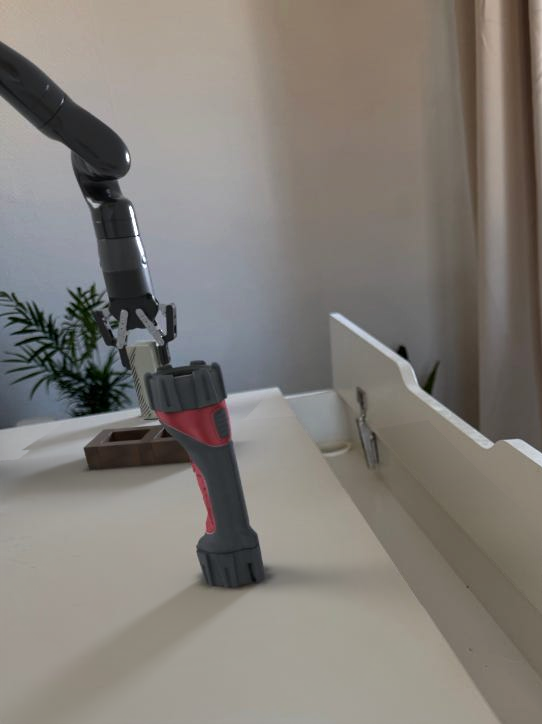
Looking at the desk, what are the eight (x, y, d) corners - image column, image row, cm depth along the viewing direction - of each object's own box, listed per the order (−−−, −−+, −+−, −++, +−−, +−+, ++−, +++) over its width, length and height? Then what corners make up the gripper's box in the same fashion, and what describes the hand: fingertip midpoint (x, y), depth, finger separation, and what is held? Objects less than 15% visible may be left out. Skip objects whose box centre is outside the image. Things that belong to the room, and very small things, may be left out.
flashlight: (186, 575, 108) (139, 365, 98) (256, 561, 110) (217, 354, 100) (194, 601, 102) (144, 380, 91) (269, 586, 104) (228, 368, 93)
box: (151, 412, 178) (134, 340, 172) (175, 411, 177) (159, 338, 171) (141, 420, 173) (124, 346, 167) (165, 419, 173) (149, 344, 167)
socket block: (89, 473, 146) (83, 447, 144) (109, 454, 155) (103, 429, 153) (210, 464, 146) (204, 437, 144) (222, 445, 155) (218, 420, 153)
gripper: (173, 260, 167) (193, 360, 174) (89, 266, 167) (113, 367, 174) (162, 265, 160) (183, 369, 168) (74, 272, 160) (100, 376, 168)
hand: (147, 367), depth 171 cm, fingers open, 5 cm apart
